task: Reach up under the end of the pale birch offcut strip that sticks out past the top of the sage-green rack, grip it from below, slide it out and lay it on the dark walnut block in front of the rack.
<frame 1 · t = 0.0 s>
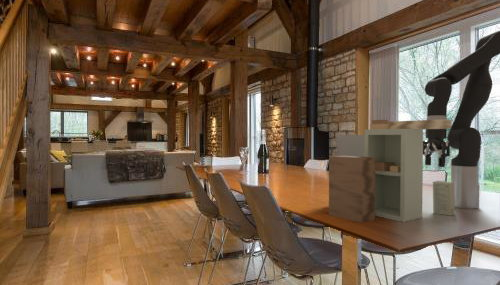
hand: (434, 166, 135), 17 cm above the table, tool pointing down, fingers open, 8 cm apart
walnut block: (351, 217, 119), on the table
folded grey card: (354, 206, 139), on the table
birch strip: (410, 129, 118), point 32 cm above the table, touching rack
rack: (392, 215, 121), on the table
skincare box: (443, 214, 124), on the table
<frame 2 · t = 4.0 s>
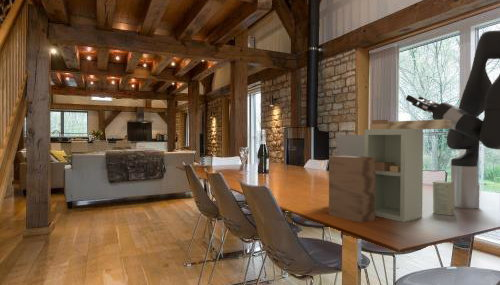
hand: (413, 97, 131), 45 cm above the table, tool pointing upward, fingers open, 8 cm apart
nothing on the table moved.
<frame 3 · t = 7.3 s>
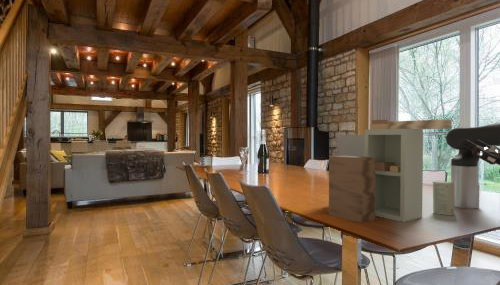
hand: (469, 142, 103), 28 cm above the table, tool pointing upward, fingers open, 8 cm apart
nothing on the table moved.
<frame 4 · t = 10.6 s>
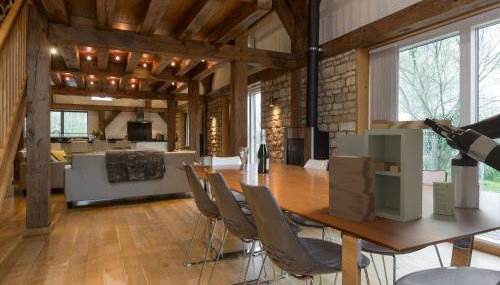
hand: (428, 120, 113), 35 cm above the table, tool pointing upward, fingers closed on birch strip, 4 cm apart
birch strip: (410, 129, 118), point 32 cm above the table, touching gripper, rack
everything else where it was.
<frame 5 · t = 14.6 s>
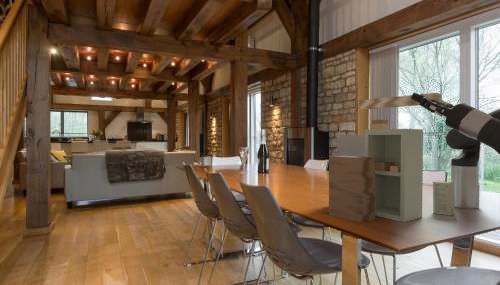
hand: (416, 95, 102), 42 cm above the table, tool pointing upward, fingers closed on birch strip, 4 cm apart
birch strip: (396, 106, 108), point 39 cm above the table, touching gripper
everything else where it was.
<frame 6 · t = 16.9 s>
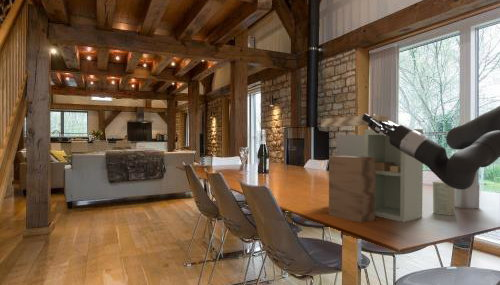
hand: (367, 116, 113), 36 cm above the table, tool pointing upward, fingers closed on birch strip, 4 cm apart
birch strip: (351, 125, 118), point 33 cm above the table, touching gripper
everything else where it was.
when the fingers open (26 cm above the table, at t = 19.0 s): birch strip drops 1 cm, resting on walnut block.
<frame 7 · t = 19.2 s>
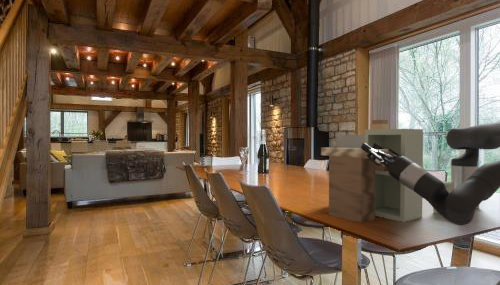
hand: (368, 145, 113), 26 cm above the table, tool pointing upward, fingers open, 5 cm apart
birch strip: (351, 156, 118), point 22 cm above the table, touching walnut block
everything else where it was.
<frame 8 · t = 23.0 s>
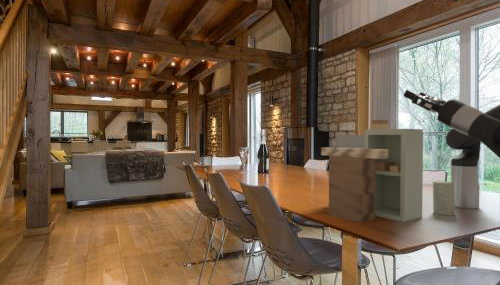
hand: (412, 93, 104), 43 cm above the table, tool pointing upward, fingers open, 8 cm apart
nothing on the table moved.
at the end: birch strip inside the target area on the walnut block (0.1 cm from its centre), point 22.0 cm above the walnut block's base; the gripper is holding nothing; birch strip moved 23.4 cm from its start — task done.
